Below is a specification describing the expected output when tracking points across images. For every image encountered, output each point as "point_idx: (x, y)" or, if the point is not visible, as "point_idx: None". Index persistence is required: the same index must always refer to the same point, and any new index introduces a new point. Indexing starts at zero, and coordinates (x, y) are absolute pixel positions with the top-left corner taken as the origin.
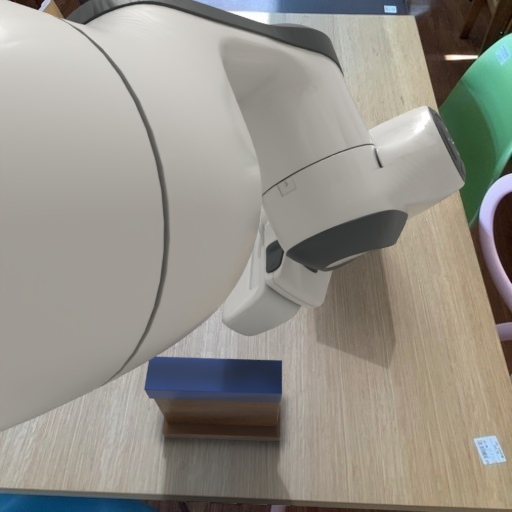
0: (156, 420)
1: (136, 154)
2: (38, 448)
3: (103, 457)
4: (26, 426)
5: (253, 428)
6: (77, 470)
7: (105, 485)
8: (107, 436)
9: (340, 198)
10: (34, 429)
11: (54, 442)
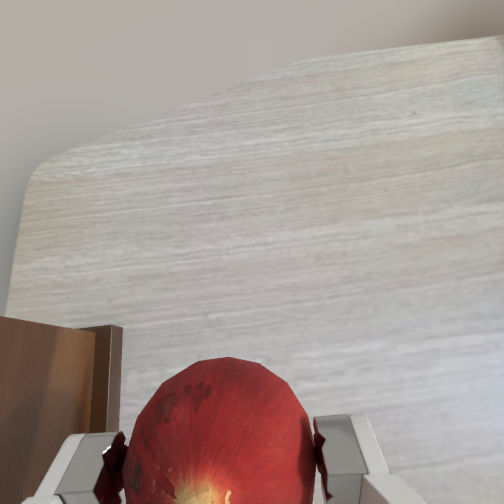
0: (92, 315)
1: None
2: (65, 183)
3: (48, 259)
4: (91, 161)
5: None
6: (36, 233)
7: (15, 272)
8: (74, 256)
9: None
10: (87, 171)
11: (71, 197)
